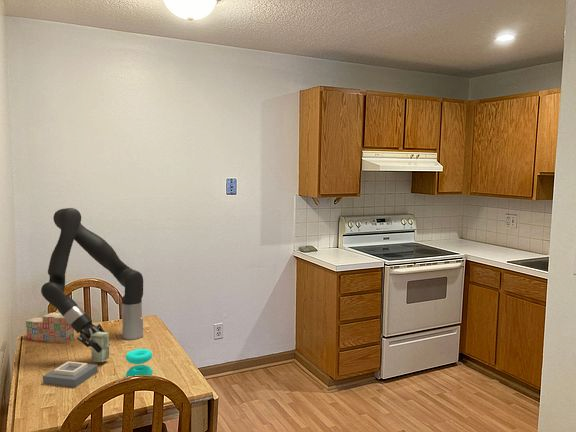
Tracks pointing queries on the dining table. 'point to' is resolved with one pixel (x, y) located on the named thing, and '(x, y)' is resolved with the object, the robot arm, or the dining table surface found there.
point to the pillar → (103, 342)
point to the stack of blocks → (50, 329)
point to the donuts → (139, 362)
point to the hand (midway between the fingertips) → (104, 348)
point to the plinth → (70, 374)
